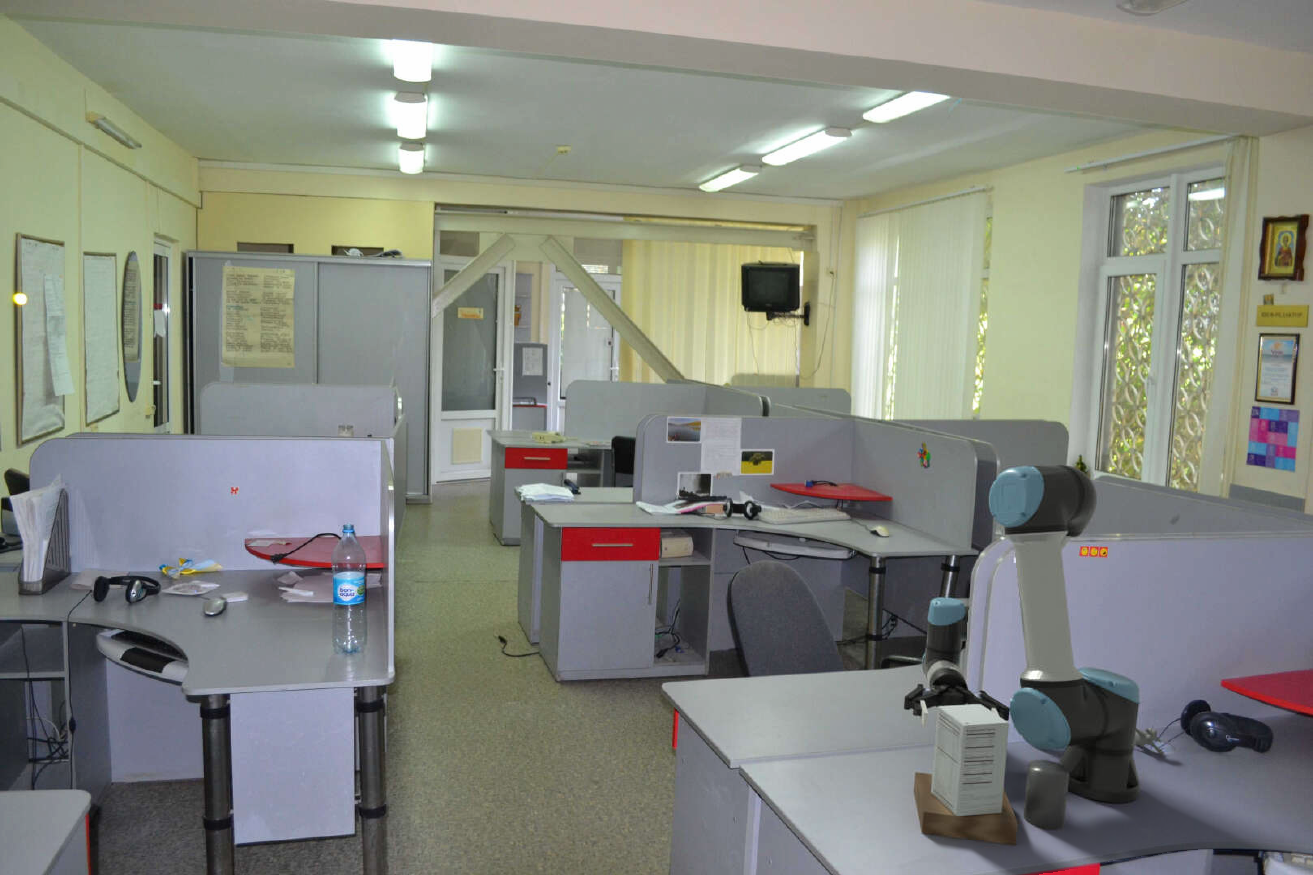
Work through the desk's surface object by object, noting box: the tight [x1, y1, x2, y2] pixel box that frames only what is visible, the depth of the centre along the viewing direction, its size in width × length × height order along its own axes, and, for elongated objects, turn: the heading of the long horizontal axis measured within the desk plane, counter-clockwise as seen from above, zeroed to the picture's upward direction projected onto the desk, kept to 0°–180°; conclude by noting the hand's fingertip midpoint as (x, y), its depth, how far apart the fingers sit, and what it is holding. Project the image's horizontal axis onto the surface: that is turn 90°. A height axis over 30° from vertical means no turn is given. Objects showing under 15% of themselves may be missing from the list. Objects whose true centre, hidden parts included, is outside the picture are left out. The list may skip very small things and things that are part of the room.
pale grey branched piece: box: [1134, 725, 1165, 756], centre depth 215 cm, size 10×6×9 cm
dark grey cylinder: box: [1023, 759, 1069, 831], centre depth 180 cm, size 7×7×10 cm
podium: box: [913, 771, 1019, 846], centre depth 180 cm, size 16×16×4 cm
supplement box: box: [931, 704, 1010, 816], centre depth 176 cm, size 10×9×17 cm
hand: (962, 723), depth 187 cm, fingers open, 13 cm apart
